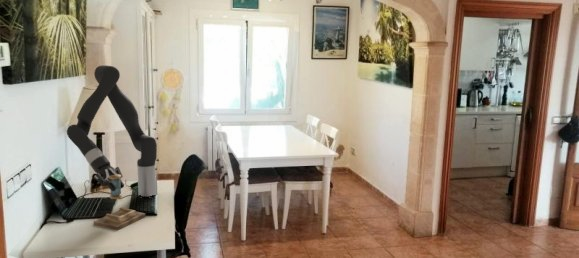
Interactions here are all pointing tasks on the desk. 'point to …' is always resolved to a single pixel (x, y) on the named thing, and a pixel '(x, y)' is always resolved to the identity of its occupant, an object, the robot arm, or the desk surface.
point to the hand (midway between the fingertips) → (118, 188)
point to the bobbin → (116, 182)
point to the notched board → (119, 219)
